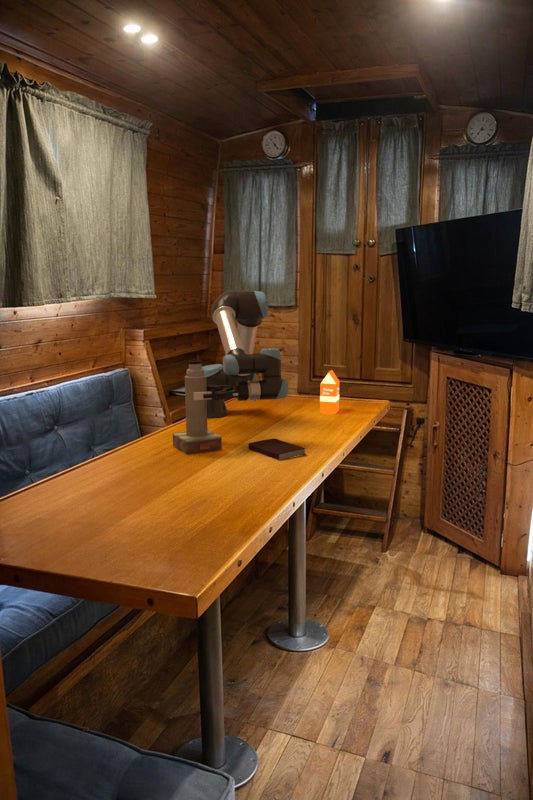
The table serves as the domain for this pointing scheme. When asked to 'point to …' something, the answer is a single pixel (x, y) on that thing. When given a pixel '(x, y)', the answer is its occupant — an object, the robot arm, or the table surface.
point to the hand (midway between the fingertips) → (191, 393)
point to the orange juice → (329, 394)
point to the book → (276, 448)
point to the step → (197, 442)
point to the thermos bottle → (195, 408)
